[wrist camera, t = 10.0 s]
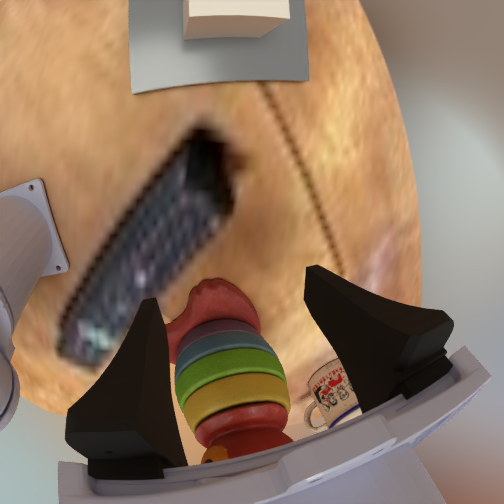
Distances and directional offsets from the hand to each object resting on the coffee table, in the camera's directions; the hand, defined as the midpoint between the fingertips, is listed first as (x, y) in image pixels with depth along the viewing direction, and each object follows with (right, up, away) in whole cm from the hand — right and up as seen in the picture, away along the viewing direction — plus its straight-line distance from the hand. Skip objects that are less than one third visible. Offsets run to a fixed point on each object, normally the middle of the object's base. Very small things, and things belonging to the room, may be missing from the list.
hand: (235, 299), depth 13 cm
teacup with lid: (+12, -17, +26) cm, 34 cm away
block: (-1, +18, 0) cm, 18 cm away
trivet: (-2, +19, 0) cm, 19 cm away
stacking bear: (-3, -6, +14) cm, 16 cm away
